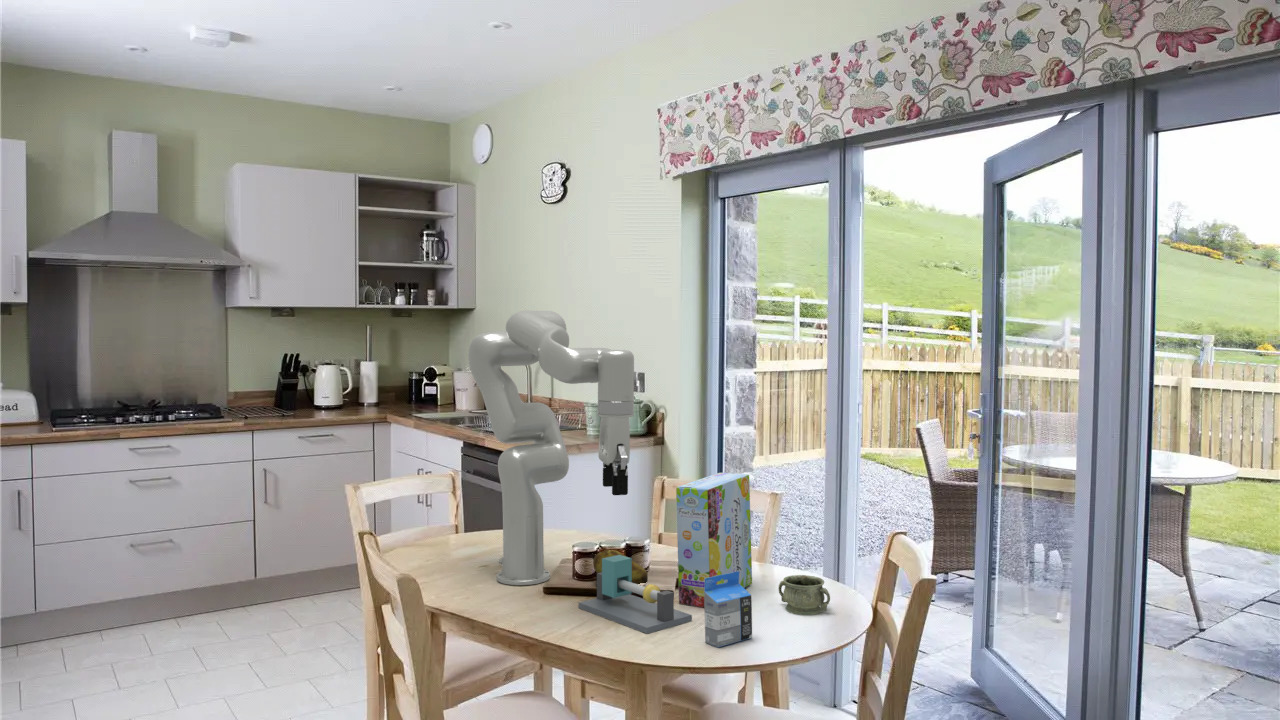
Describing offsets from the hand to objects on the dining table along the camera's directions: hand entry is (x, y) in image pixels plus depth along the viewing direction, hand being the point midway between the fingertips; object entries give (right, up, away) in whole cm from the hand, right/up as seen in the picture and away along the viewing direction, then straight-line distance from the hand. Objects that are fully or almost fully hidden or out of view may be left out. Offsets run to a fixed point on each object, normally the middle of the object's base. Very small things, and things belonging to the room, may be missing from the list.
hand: (614, 490), depth 189 cm
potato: (+1, -25, +18) cm, 31 cm away
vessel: (+40, -25, +1) cm, 47 cm away
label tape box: (+22, -26, -19) cm, 39 cm away
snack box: (+22, -25, +12) cm, 35 cm away
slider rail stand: (+4, -25, -3) cm, 26 cm away
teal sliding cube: (0, -22, +1) cm, 22 cm away
